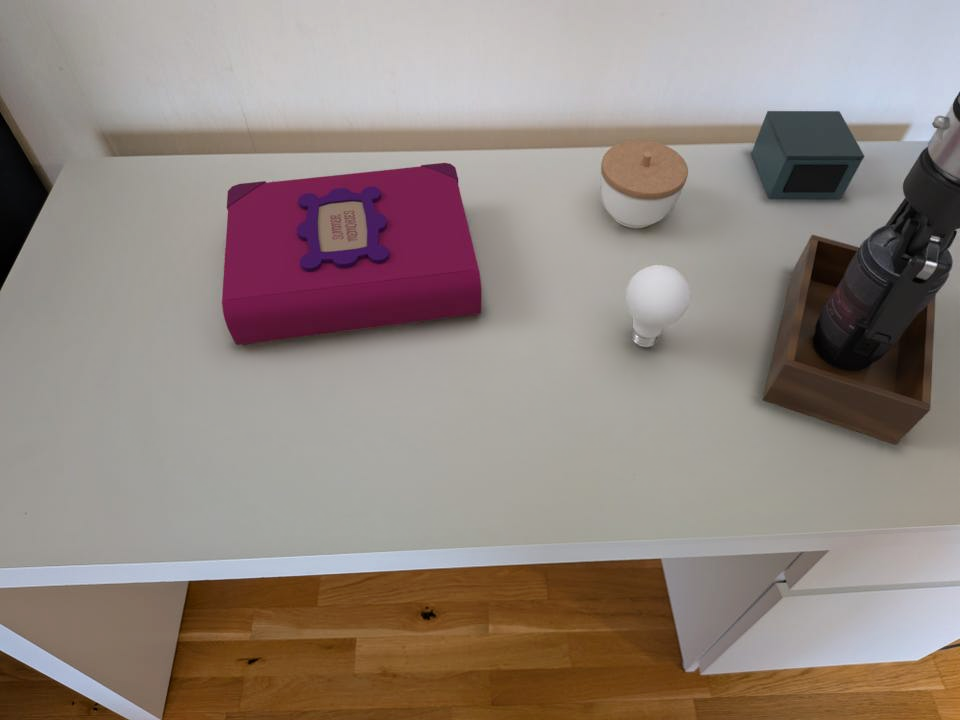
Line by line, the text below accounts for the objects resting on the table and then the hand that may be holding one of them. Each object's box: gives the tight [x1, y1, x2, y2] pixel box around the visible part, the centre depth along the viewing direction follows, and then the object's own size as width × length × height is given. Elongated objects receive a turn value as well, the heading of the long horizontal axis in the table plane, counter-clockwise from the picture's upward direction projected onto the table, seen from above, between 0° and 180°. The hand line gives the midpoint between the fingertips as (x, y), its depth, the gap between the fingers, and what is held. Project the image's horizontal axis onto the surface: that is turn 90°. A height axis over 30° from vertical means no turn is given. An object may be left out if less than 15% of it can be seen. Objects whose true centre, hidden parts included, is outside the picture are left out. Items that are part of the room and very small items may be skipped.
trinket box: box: [599, 139, 689, 229], centre depth 87 cm, size 11×11×9 cm
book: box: [221, 162, 482, 346], centre depth 81 cm, size 21×28×8 cm
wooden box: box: [762, 234, 937, 445], centre depth 75 cm, size 21×14×7 cm, turn 156°
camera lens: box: [814, 224, 954, 370], centre depth 70 cm, size 8×8×15 cm
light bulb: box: [625, 264, 691, 348], centre depth 73 cm, size 7×7×11 cm
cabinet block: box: [750, 110, 865, 200], centre depth 93 cm, size 10×10×7 cm
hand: (851, 334), depth 75 cm, fingers closed on camera lens, 8 cm apart
